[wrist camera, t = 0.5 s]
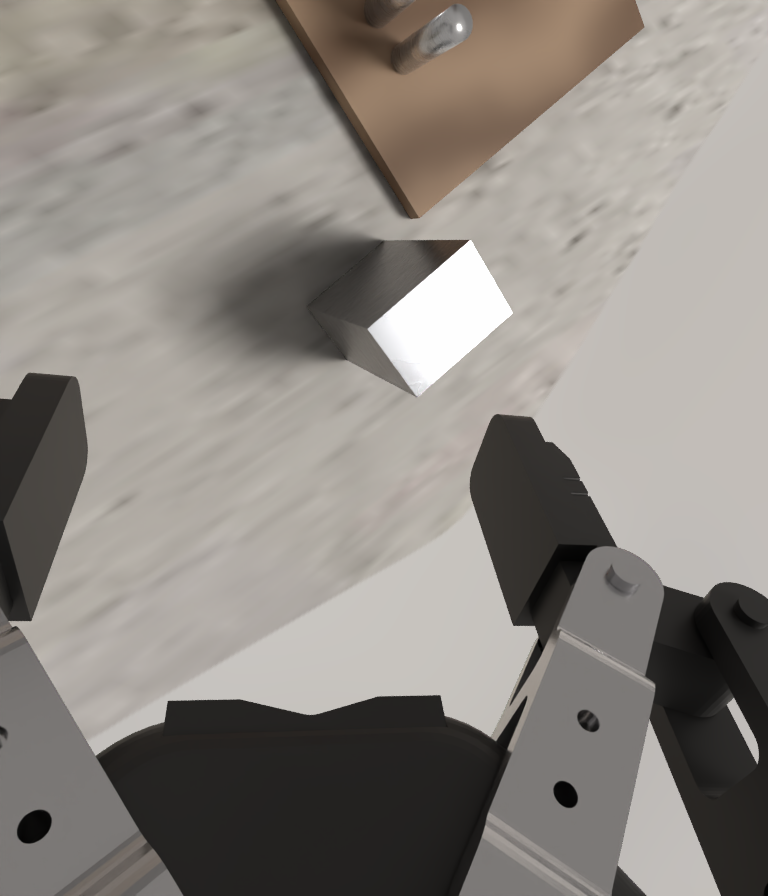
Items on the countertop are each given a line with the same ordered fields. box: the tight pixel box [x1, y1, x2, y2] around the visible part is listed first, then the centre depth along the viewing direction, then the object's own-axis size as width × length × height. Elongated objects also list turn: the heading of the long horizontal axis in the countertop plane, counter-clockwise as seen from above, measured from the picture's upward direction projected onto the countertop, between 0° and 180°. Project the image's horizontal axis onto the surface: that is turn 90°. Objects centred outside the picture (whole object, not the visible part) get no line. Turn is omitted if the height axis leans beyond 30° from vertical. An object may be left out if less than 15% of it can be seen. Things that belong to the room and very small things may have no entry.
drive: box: [307, 240, 512, 397], centre depth 32 cm, size 4×6×10 cm, turn 127°
